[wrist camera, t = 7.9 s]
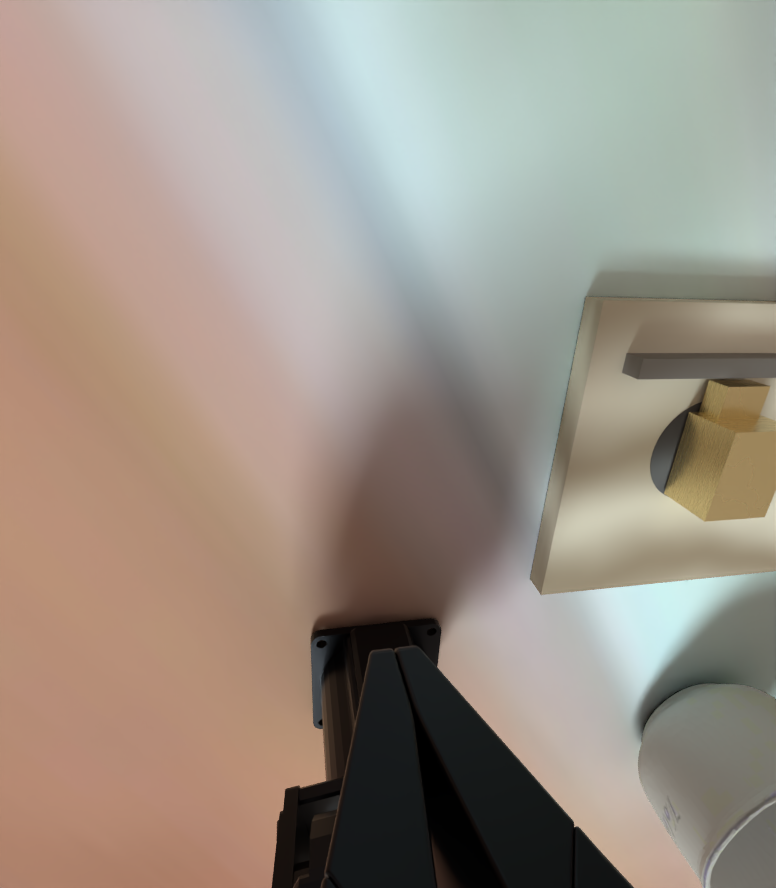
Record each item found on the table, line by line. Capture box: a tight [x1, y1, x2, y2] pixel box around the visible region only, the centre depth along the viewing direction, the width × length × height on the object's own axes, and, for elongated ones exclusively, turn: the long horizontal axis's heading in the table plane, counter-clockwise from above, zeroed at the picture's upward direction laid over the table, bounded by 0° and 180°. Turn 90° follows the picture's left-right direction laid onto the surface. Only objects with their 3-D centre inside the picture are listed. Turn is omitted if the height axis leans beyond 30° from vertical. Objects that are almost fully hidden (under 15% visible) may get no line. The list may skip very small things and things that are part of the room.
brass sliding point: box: [664, 380, 776, 522], centre depth 20 cm, size 5×3×2 cm, turn 178°
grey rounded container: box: [638, 683, 776, 888], centre depth 29 cm, size 14×11×8 cm
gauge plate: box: [530, 297, 776, 595], centre depth 22 cm, size 14×19×2 cm
